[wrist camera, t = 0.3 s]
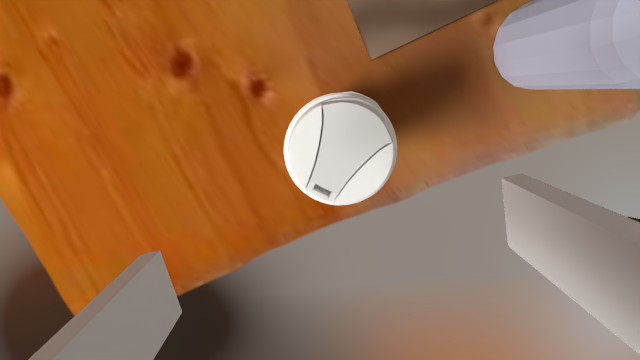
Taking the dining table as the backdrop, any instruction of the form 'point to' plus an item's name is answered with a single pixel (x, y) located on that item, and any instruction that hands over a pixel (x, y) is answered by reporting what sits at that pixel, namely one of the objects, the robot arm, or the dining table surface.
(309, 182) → the coffee cup
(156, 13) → the dining table surface
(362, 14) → the block
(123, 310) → the robot arm
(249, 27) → the dining table surface
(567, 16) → the soap bottle
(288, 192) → the dining table surface
